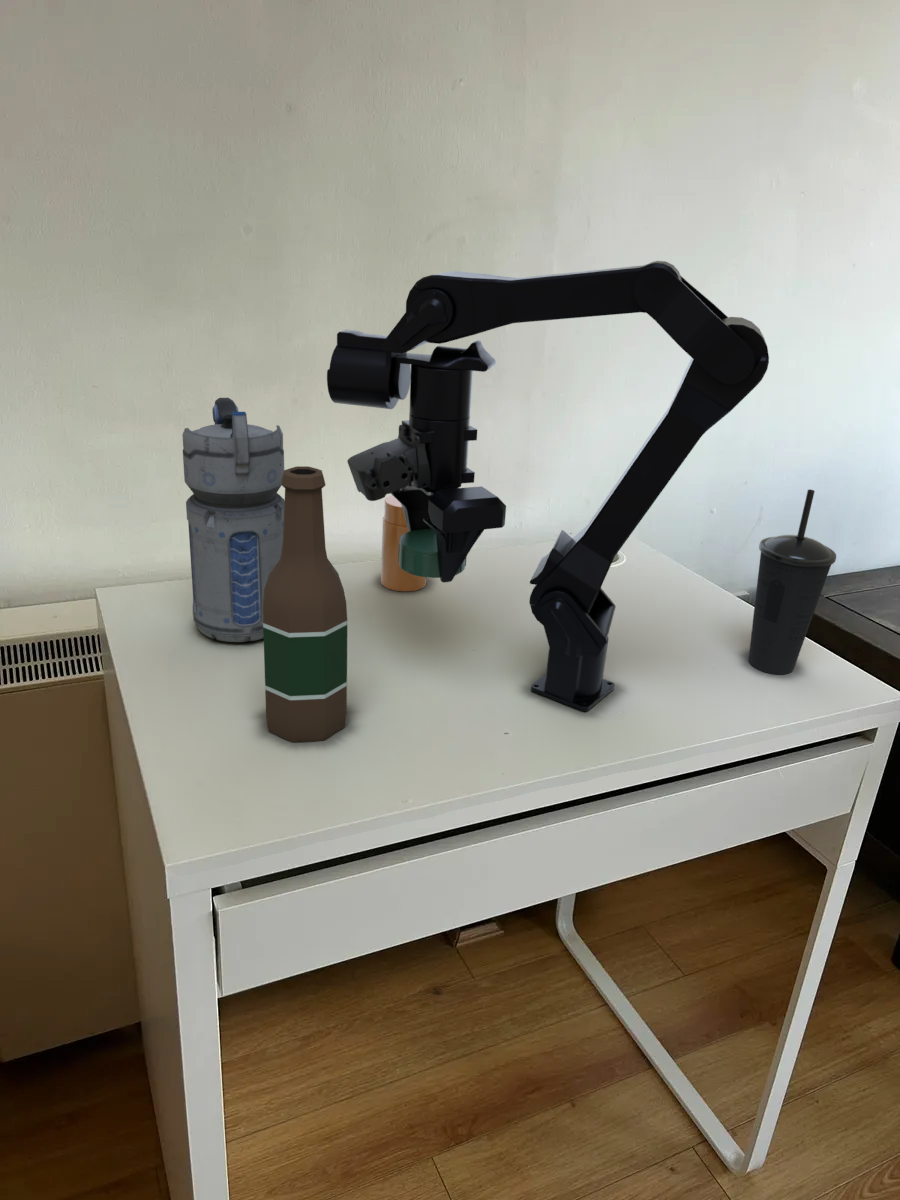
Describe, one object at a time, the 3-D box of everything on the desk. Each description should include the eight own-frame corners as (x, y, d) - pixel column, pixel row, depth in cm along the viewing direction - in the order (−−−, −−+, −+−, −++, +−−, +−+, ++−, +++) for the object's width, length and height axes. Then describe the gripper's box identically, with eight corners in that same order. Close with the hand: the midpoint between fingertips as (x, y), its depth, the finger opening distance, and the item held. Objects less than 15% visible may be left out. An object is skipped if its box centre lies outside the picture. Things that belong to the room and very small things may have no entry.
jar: (418, 594, 111) (422, 510, 107) (374, 587, 113) (376, 504, 108) (431, 577, 117) (436, 497, 112) (389, 571, 118) (392, 491, 114)
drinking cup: (817, 683, 96) (863, 504, 88) (746, 679, 96) (785, 499, 88) (794, 650, 103) (834, 481, 95) (727, 646, 103) (762, 477, 95)
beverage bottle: (273, 596, 109) (268, 387, 98) (297, 644, 97) (294, 414, 87) (186, 604, 105) (172, 388, 95) (200, 655, 94) (185, 417, 84)
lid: (456, 552, 94) (457, 527, 93) (472, 576, 88) (474, 550, 87) (393, 554, 93) (394, 529, 92) (406, 579, 87) (407, 553, 86)
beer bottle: (333, 751, 79) (333, 489, 69) (249, 737, 80) (239, 478, 71) (358, 707, 86) (362, 463, 76) (281, 695, 88) (275, 453, 78)
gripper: (327, 397, 89) (328, 545, 95) (394, 443, 73) (389, 616, 80) (431, 393, 93) (425, 535, 100) (514, 436, 78) (501, 601, 84)
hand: (432, 568), depth 91 cm, fingers closed on lid, 6 cm apart
